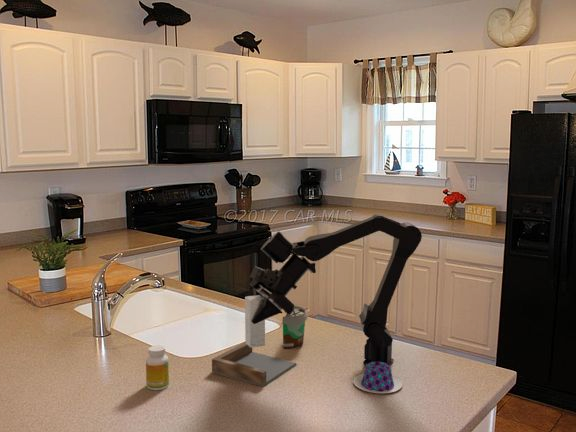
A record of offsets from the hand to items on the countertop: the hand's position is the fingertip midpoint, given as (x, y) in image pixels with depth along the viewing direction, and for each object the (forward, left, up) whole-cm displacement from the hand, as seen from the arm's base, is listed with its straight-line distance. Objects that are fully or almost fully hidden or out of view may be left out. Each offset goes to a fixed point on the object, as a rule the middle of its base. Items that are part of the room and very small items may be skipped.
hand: (250, 320), depth 148 cm
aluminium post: (-1, -1, -7) cm, 7 cm away
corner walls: (-1, -1, -13) cm, 13 cm away
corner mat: (-1, -1, -13) cm, 13 cm away
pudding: (-32, -10, -14) cm, 36 cm away
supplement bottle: (+13, +20, -14) cm, 28 cm away
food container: (-1, -23, -14) cm, 27 cm away
